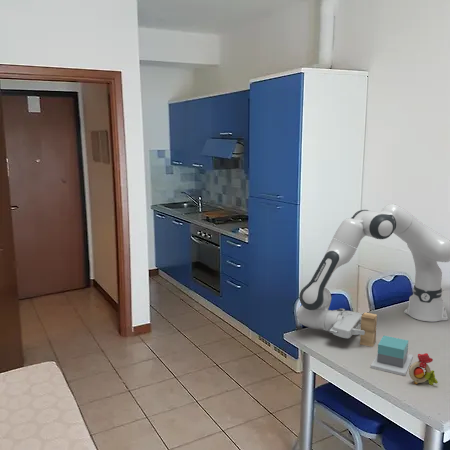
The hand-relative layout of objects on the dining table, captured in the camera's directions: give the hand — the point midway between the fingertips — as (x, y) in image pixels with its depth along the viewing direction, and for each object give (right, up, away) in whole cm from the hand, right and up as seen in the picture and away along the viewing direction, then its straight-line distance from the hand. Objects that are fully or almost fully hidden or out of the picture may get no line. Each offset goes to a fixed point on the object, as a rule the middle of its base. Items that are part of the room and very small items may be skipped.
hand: (367, 328), depth 189 cm
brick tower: (+4, -9, -15) cm, 18 cm away
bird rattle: (+10, -12, -30) cm, 34 cm away
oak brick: (0, -6, +1) cm, 6 cm away
